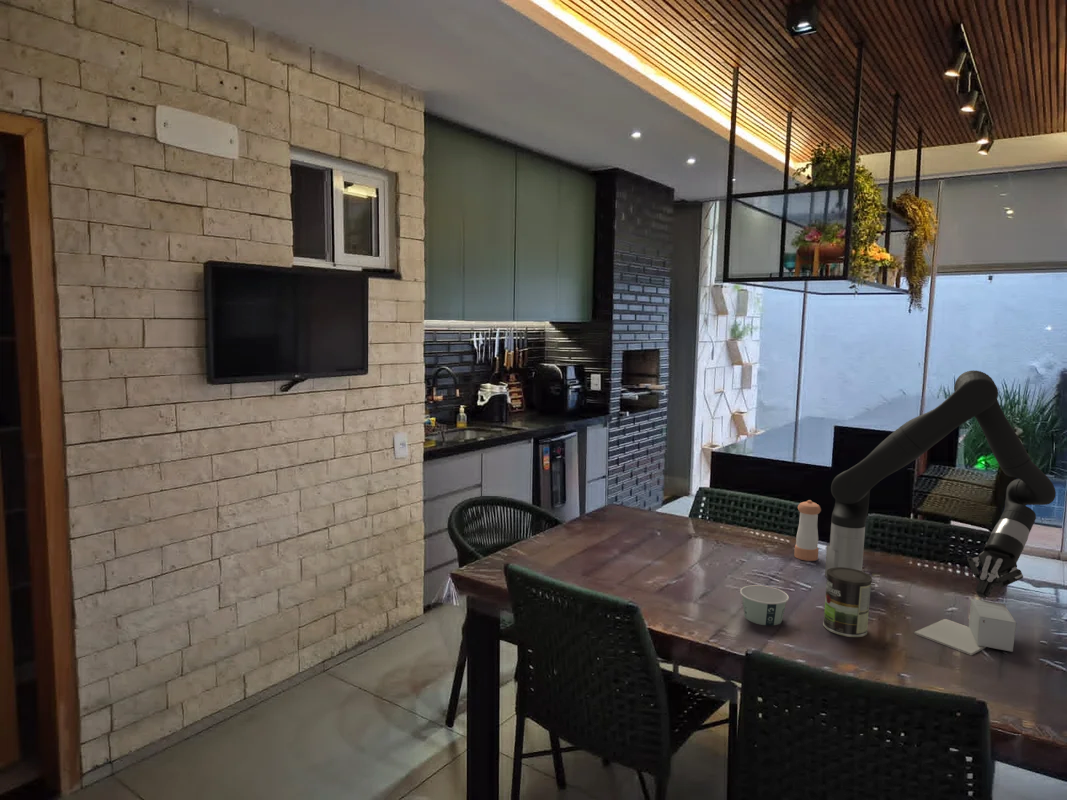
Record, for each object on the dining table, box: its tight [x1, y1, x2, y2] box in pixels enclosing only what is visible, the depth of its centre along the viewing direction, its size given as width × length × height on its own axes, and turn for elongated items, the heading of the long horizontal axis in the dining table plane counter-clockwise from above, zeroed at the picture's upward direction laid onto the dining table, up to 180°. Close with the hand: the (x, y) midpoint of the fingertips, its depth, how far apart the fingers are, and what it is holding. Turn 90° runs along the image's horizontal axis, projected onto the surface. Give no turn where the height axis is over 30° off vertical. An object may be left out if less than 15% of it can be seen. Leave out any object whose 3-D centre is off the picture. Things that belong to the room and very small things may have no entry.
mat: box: [913, 618, 987, 656], centre depth 168 cm, size 15×13×1 cm
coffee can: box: [822, 567, 873, 638], centre depth 171 cm, size 10×10×14 cm
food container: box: [739, 584, 790, 627], centre depth 177 cm, size 12×12×6 cm
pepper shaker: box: [793, 499, 822, 562], centre depth 224 cm, size 7×7×19 cm
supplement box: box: [968, 598, 1018, 652], centre depth 166 cm, size 7×7×13 cm
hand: (980, 595), depth 172 cm, fingers closed
